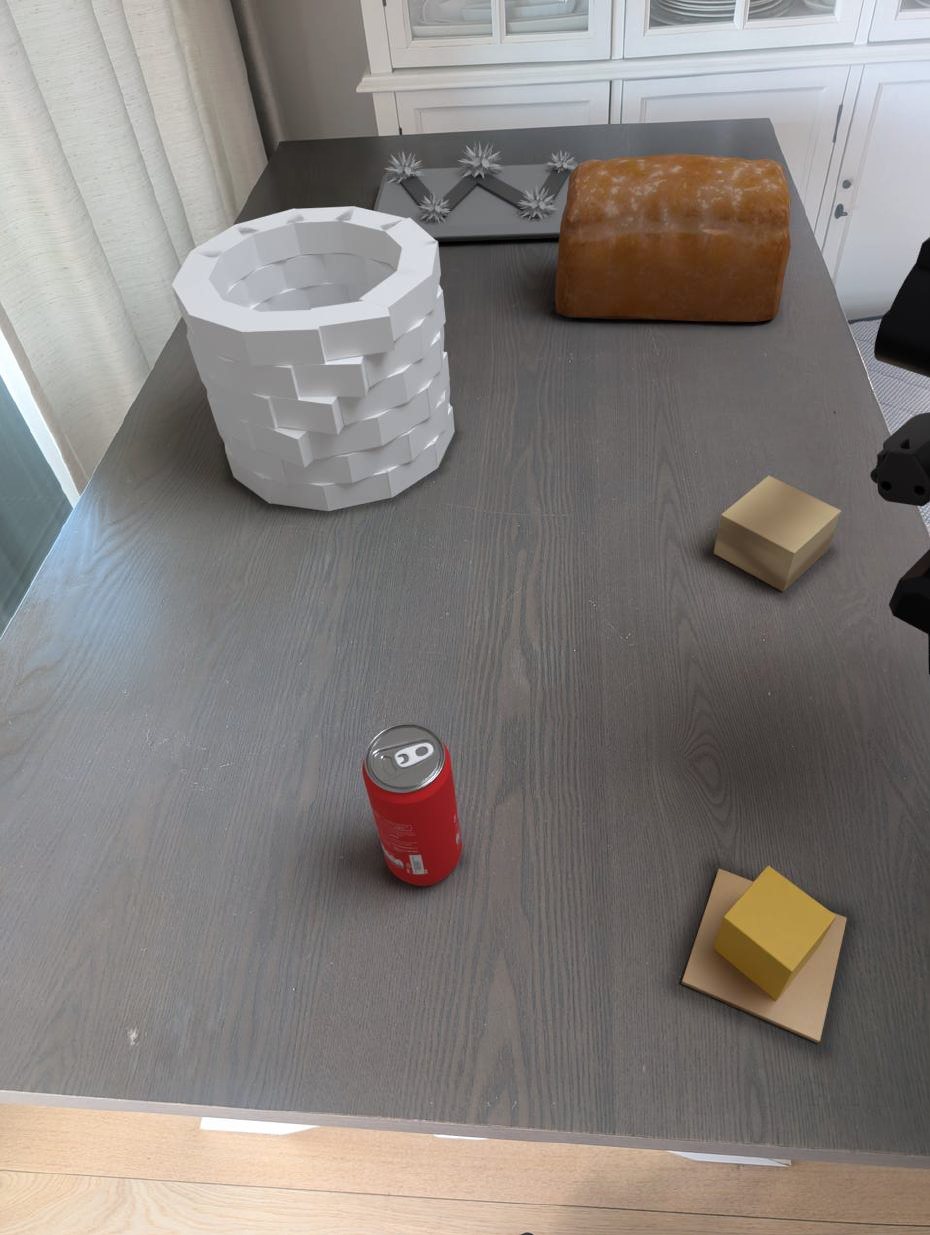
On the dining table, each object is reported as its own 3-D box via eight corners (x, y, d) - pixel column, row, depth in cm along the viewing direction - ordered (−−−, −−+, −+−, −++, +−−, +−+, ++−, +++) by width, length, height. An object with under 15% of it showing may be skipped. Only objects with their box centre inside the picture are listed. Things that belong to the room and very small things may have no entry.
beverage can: (375, 839, 61) (348, 738, 52) (445, 810, 62) (429, 707, 54) (402, 904, 58) (377, 809, 49) (475, 873, 59) (463, 774, 50)
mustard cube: (818, 947, 54) (836, 915, 51) (776, 1001, 52) (792, 972, 49) (754, 898, 56) (768, 864, 53) (712, 948, 54) (723, 916, 51)
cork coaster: (845, 920, 55) (847, 917, 55) (818, 1043, 51) (820, 1041, 50) (718, 870, 58) (718, 867, 58) (681, 983, 54) (681, 981, 53)
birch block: (828, 550, 77) (841, 510, 74) (783, 592, 74) (794, 553, 71) (759, 514, 81) (768, 474, 78) (713, 553, 78) (720, 514, 75)
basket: (219, 397, 100) (166, 228, 86) (426, 356, 102) (409, 187, 89) (236, 542, 83) (175, 363, 69) (484, 489, 86) (473, 306, 72)
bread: (781, 329, 102) (812, 187, 90) (551, 323, 106) (552, 187, 94) (772, 271, 111) (799, 135, 99) (561, 268, 115) (563, 137, 103)
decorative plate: (366, 250, 122) (359, 197, 116) (384, 185, 136) (378, 135, 131) (588, 242, 119) (590, 187, 114) (582, 176, 134) (584, 125, 128)
